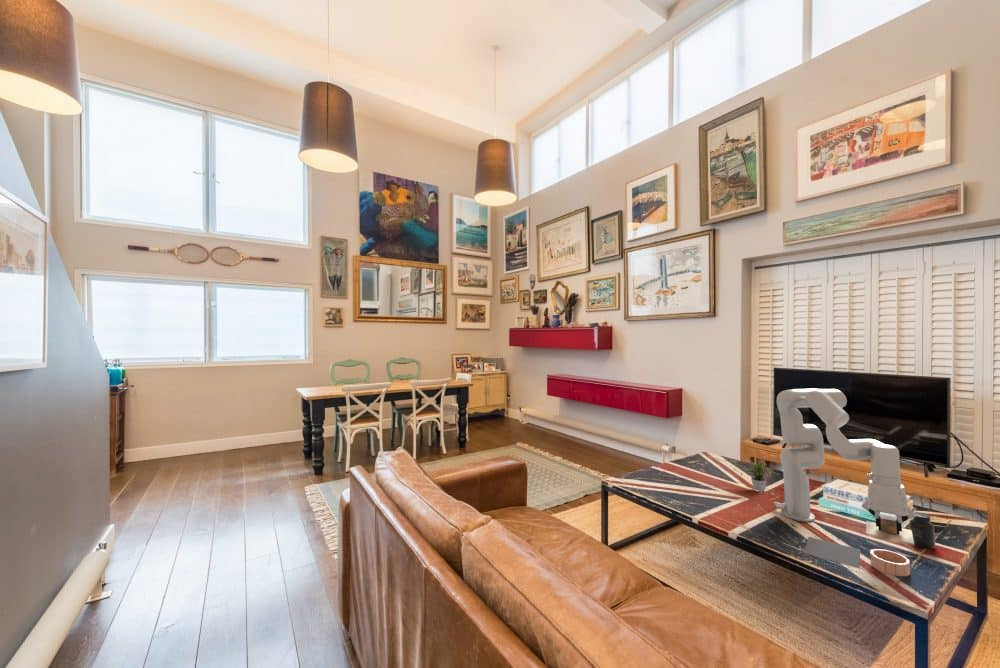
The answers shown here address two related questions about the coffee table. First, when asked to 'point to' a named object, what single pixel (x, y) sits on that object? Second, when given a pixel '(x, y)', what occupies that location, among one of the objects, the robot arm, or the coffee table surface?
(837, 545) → the mat
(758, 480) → the house plant
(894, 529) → the lid
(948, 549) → the coffee table surface
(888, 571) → the bowl
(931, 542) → the supplement bottle
